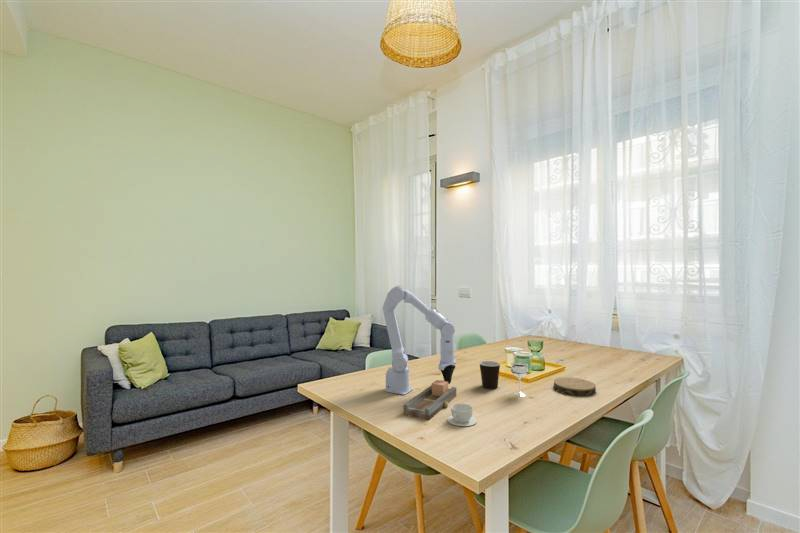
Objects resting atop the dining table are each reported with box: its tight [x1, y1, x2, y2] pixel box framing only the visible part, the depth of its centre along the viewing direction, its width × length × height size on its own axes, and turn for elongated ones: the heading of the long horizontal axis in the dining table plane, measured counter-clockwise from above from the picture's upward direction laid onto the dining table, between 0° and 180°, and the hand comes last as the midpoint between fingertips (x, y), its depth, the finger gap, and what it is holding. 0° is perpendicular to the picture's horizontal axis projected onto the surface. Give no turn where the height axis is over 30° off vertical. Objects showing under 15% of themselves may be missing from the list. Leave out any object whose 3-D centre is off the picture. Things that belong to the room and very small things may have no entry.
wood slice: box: [553, 376, 597, 397], centre depth 155 cm, size 16×16×3 cm
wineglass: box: [510, 361, 529, 397], centre depth 150 cm, size 7×7×12 cm
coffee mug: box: [479, 360, 501, 390], centre depth 161 cm, size 12×9×10 cm
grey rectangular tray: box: [403, 384, 457, 421], centre depth 140 cm, size 12×26×4 cm, turn 151°
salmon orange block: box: [431, 379, 449, 396], centre depth 147 cm, size 5×5×4 cm
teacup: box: [446, 403, 478, 427], centre depth 125 cm, size 10×10×5 cm
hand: (447, 383), depth 154 cm, fingers closed
